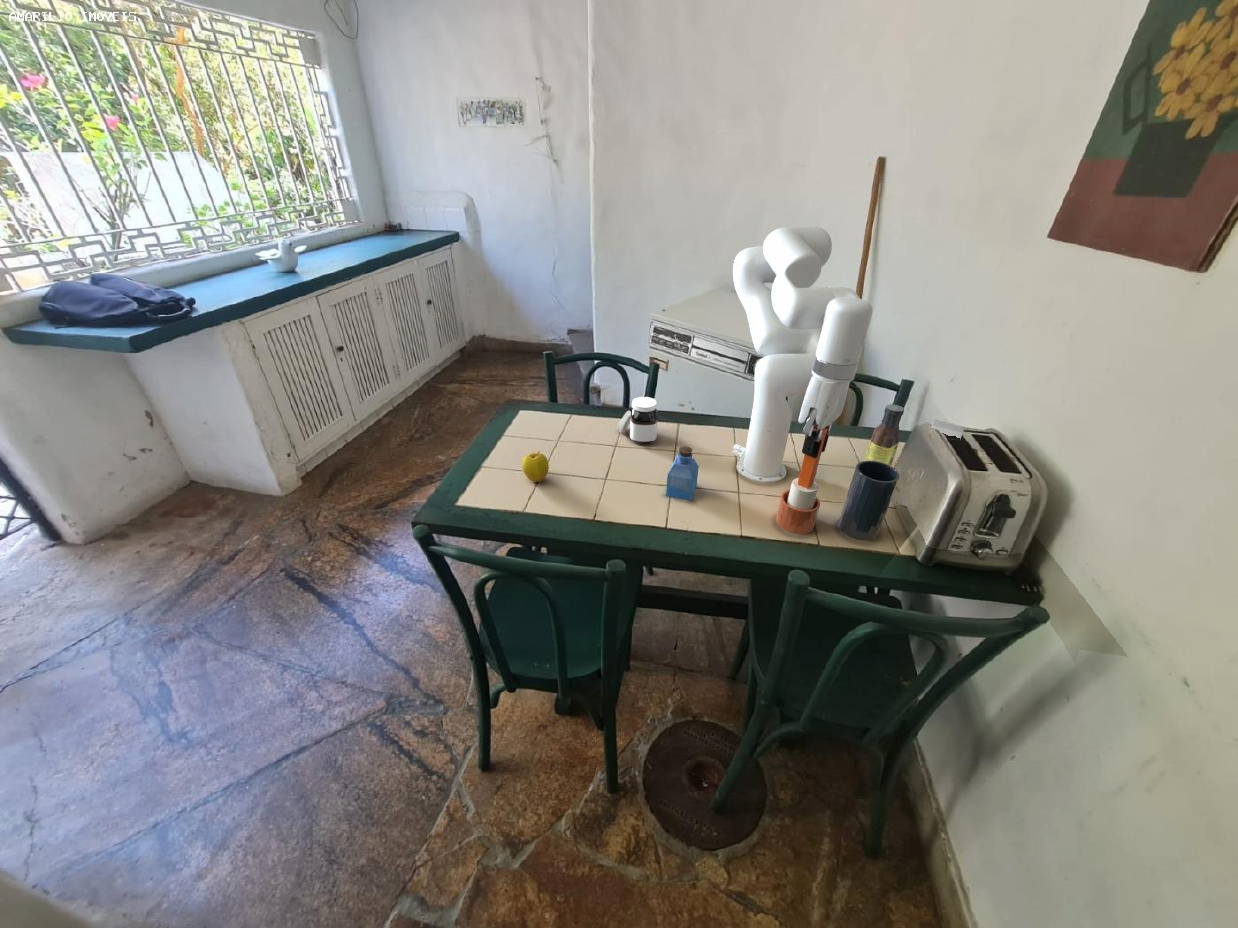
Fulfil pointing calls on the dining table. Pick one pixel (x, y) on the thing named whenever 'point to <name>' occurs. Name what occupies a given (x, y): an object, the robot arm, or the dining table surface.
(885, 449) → the sauce bottle
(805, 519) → the brush holder
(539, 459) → the apple
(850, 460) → the dining table surface
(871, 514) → the dark blue cylindrical vase
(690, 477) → the perfume bottle
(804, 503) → the brush
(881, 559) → the dining table surface
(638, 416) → the spread jar
